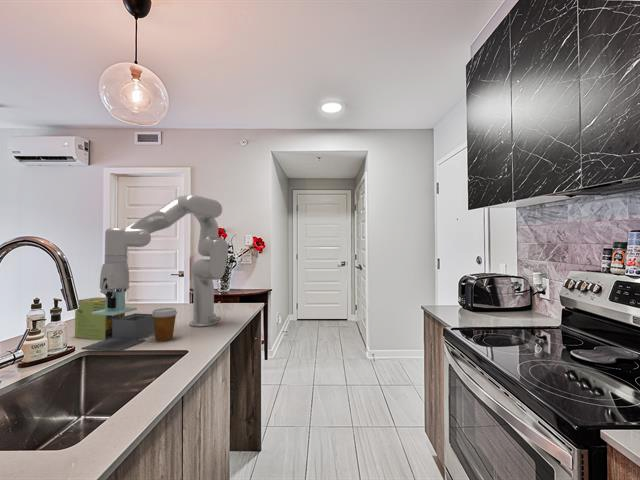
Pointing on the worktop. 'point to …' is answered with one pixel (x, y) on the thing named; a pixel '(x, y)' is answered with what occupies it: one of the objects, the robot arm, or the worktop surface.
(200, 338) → the worktop surface
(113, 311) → the lid
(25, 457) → the worktop surface
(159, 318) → the disposable coffee cup
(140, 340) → the mat
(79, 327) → the protein box
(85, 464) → the worktop surface
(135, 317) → the box
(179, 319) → the worktop surface
